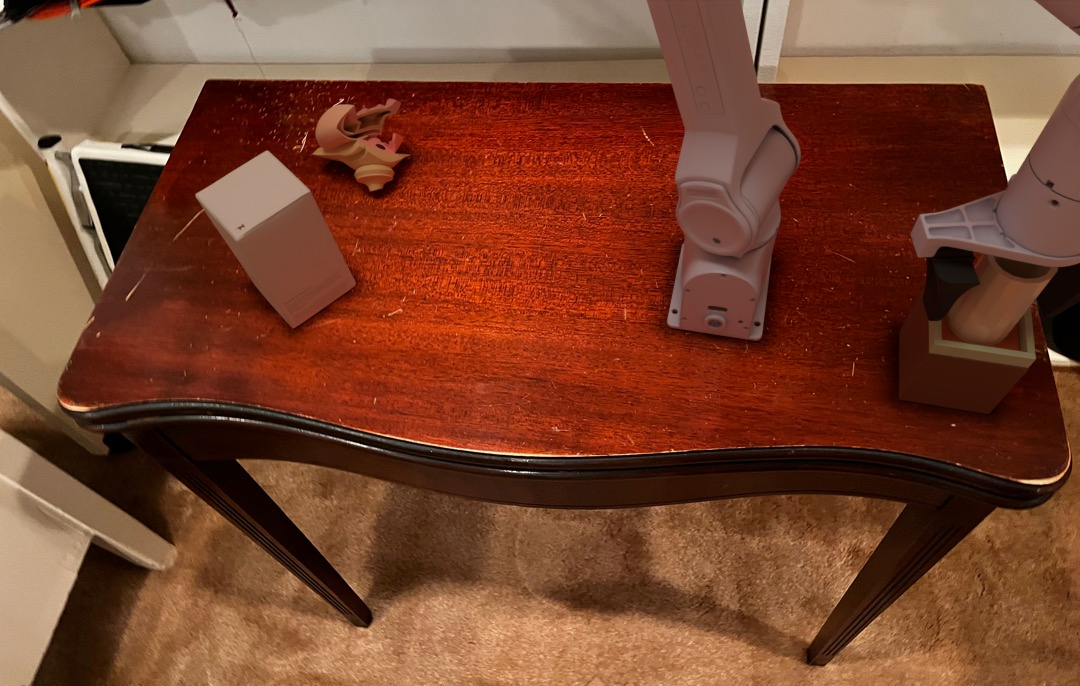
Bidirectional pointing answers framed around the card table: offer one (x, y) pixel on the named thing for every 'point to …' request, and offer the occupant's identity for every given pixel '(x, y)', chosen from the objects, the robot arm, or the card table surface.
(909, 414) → the card table surface
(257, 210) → the white packaging box
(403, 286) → the card table surface
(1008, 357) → the holder
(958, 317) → the beige hollow cylinder
